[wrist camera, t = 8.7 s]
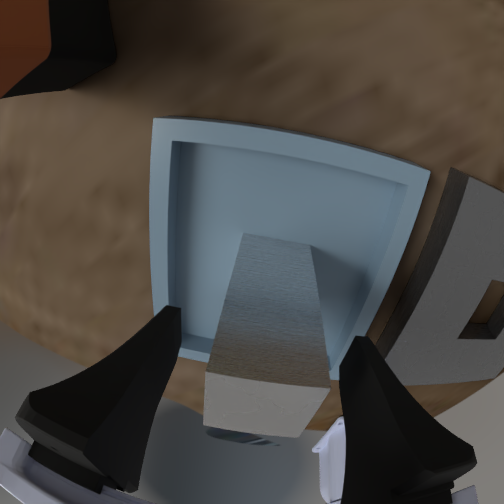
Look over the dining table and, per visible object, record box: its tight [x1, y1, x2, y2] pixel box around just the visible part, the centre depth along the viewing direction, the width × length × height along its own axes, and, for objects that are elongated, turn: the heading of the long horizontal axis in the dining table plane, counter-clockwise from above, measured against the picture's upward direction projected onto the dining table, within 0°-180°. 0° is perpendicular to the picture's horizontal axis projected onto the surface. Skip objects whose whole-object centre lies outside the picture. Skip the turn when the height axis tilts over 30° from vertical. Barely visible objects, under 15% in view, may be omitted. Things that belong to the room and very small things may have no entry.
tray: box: [149, 116, 431, 380], centre depth 16 cm, size 15×13×2 cm
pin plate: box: [375, 167, 504, 385], centre depth 16 cm, size 16×16×2 cm
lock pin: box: [203, 233, 331, 437], centre depth 12 cm, size 4×4×9 cm
